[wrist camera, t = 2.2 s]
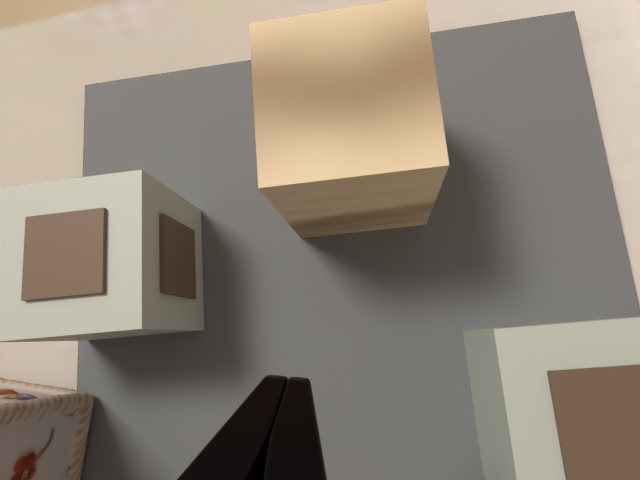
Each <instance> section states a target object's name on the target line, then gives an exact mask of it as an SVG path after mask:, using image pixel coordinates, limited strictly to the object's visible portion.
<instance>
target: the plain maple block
mask: <svg viewBox="0 0 640 480" xmlns="http://www.w3.org/2000/svg"><path fill="white" fill-rule="evenodd" d="M249 29H250V47H251V65H252V83H253V101H254V120H255V138H256V156H257V174H258V188H259V190H260V191H261V192H262V193H263V194H264V195H265V197H266V198H267V199H268V200H269V201H270V203H271V204H272V205H273V206H274V207H275V208H276V210H277V211H278V212H279V213H280V214H281V215H282V217H283V218H284V219H285V220H286V221H287V223H288V224H289V225H290V226H291V227H292V228H293V230H294V231H295V232H296V233H297V234H298V235H299V237H300V238H307V237H317V236H326V235H335V234H345V233H354V232H363V231H373V230H382V229H392V228H401V227H410V226H420V225H426V223H427V221H428V218H429V216H430V213H431V211H432V208H433V206H434V203H435V201H436V198H437V195H438V193H439V190H440V188H441V185H442V183H443V180H444V178H445V175H446V173H447V170H448V168H449V159H448V152H447V145H446V139H445V132H444V125H443V118H442V111H441V104H440V97H439V90H438V84H437V77H436V70H435V63H434V56H433V49H432V42H431V35H430V29H429V22H428V15H427V8H426V1H425V0H391V1H385V2H379V3H373V4H366V5H360V6H354V7H348V8H342V9H335V10H329V11H323V12H317V13H310V14H304V15H298V16H292V17H286V18H279V19H273V20H267V21H261V22H254V23H249Z"/></svg>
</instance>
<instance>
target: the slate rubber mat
mask: <svg viewBox="0 0 640 480" xmlns="http://www.w3.org/2000/svg"><path fill="white" fill-rule="evenodd" d="M430 35H431V42H432V49H433V56H434V63H435V70H436V77H437V84H438V90H439V97H440V104H441V111H442V118H443V125H444V132H445V139H446V145H447V152H448V159H449V168H448V170H447V173H446V175H445V178H444V180H443V183H442V185H441V188H440V190H439V193H438V195H437V198H436V201H435V203H434V206H433V208H432V211H431V213H430V216H429V218H428V221H427V223H426V225H420V226H410V227H401V228H392V229H382V230H373V231H363V232H354V233H345V234H335V235H326V236H317V237H307V238H300V237H299V235H298V234H297V233H296V232H295V231H294V230H293V228H292V227H291V226H290V225H289V224H288V223H287V221H286V220H285V219H284V218H283V217H282V215H281V214H280V213H279V212H278V211H277V210H276V208H275V207H274V206H273V205H272V204H271V203H270V201H269V200H268V199H267V198H266V197H265V195H264V194H263V193H262V192H261V191H260V190H259V188H258V174H257V156H256V138H255V120H254V101H253V83H252V65H251V60H248V61H241V62H234V63H228V64H221V65H215V66H208V67H202V68H195V69H188V70H182V71H175V72H169V73H162V74H155V75H149V76H142V77H136V78H129V79H122V80H116V81H109V82H103V83H96V84H89V85H85V110H84V148H83V177H88V176H95V175H103V174H111V173H119V172H127V171H134V170H143V171H145V172H146V173H147V174H149V175H150V176H152V177H153V178H155V179H156V180H158V181H159V182H161V183H162V184H164V185H165V186H166V187H168V188H169V189H171V190H172V191H174V192H175V193H177V194H178V195H180V196H181V197H183V198H184V199H185V200H187V201H188V202H190V203H191V204H193V205H194V206H196V207H197V208H199V209H200V210H201V230H202V265H203V301H204V330H202V331H190V332H179V333H167V334H156V335H144V336H133V337H121V338H109V339H98V340H81V341H78V372H77V391H79V392H85V393H88V394H90V395H91V396H92V397H93V398H94V402H93V411H92V415H91V420H90V426H89V431H88V436H87V443H86V450H85V455H84V461H83V466H82V474H81V478H80V480H177V479H178V478H179V476H180V475H181V474H182V473H183V472H184V471H185V469H186V468H187V467H188V466H189V465H190V464H191V462H192V461H193V460H194V459H195V458H196V456H197V455H198V454H199V453H200V452H201V451H202V449H203V448H204V447H205V446H206V445H207V444H208V442H209V441H210V440H211V439H212V438H213V437H214V435H215V434H216V433H217V432H218V431H219V430H220V428H221V427H222V426H223V425H224V424H225V423H226V421H227V420H228V419H229V418H230V417H231V416H232V414H233V413H234V412H235V411H236V410H237V409H238V407H239V406H240V405H241V404H242V403H243V402H244V400H245V399H246V398H247V397H248V396H249V395H250V393H251V392H252V391H253V390H254V389H255V387H256V386H257V385H258V384H259V383H260V382H261V380H262V379H263V378H264V377H265V376H267V375H281V376H286V377H287V378H288V379H289V378H290V377H302V378H308V379H309V380H310V382H311V387H312V393H313V399H314V405H315V411H316V417H317V423H318V429H319V434H320V440H321V446H322V452H323V458H324V464H325V470H326V476H327V480H486V479H485V477H484V476H483V470H482V463H481V456H480V449H479V442H478V435H477V428H476V421H475V414H474V407H473V399H472V392H471V385H470V378H469V371H468V364H467V357H466V350H465V343H464V336H463V331H465V330H477V329H490V328H502V327H514V326H527V325H539V324H551V323H564V322H576V321H588V320H600V319H614V318H629V317H640V308H639V303H638V298H637V294H636V289H635V285H634V280H633V276H632V271H631V267H630V262H629V258H628V253H627V249H626V244H625V239H624V235H623V230H622V226H621V221H620V217H619V212H618V208H617V203H616V199H615V194H614V190H613V185H612V180H611V176H610V171H609V167H608V162H607V158H606V153H605V149H604V144H603V140H602V135H601V131H600V126H599V121H598V117H597V112H596V108H595V103H594V99H593V94H592V90H591V85H590V81H589V76H588V72H587V67H586V62H585V58H584V53H583V49H582V44H581V40H580V35H579V31H578V26H577V22H576V17H575V13H574V11H571V12H564V13H557V14H551V15H544V16H538V17H531V18H524V19H518V20H511V21H505V22H498V23H492V24H485V25H478V26H472V27H465V28H459V29H452V30H445V31H439V32H432V33H430Z"/></svg>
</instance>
